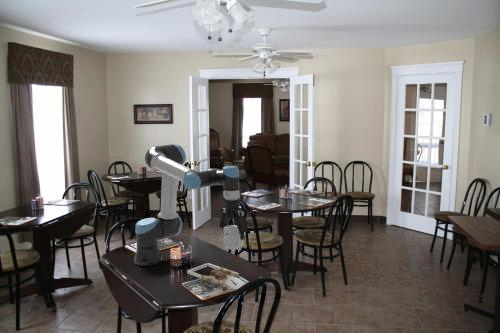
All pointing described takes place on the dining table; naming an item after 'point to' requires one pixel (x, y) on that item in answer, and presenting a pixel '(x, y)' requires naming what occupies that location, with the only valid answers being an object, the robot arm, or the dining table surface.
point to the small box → (231, 237)
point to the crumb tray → (201, 268)
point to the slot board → (230, 276)
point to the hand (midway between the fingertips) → (233, 244)
